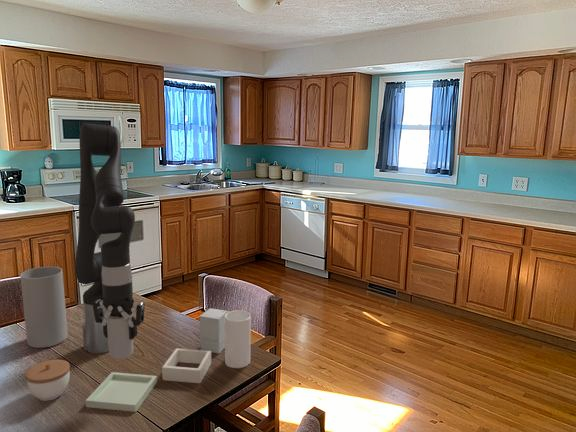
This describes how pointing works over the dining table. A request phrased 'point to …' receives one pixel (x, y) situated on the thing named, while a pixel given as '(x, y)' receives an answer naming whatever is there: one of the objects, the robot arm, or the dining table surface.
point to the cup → (237, 338)
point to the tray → (122, 392)
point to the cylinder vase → (44, 306)
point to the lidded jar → (48, 379)
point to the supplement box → (212, 330)
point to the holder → (183, 372)
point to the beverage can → (119, 337)
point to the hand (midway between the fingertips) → (120, 337)
